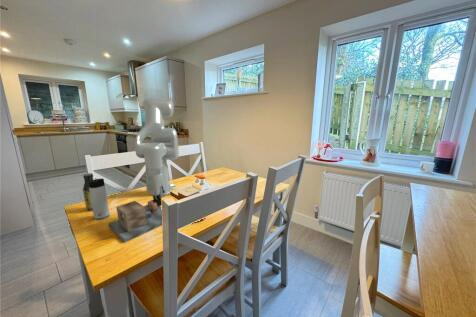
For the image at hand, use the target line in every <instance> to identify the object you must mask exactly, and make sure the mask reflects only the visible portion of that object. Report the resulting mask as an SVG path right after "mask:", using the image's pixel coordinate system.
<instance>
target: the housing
mask: <svg viewBox="0 0 476 317" xmlns="http://www.w3.org/2000/svg"><path fill="white" fill-rule="evenodd" d="M144 206H145V205H142V204H141V203H139V202H137V201H136V200H134V201H129V202H127V203H124V204H121V205H118V206H116V212H117V219H116V220H114V221H112V222H111V221H110V222H109V223H108V224H107V225H108V228H110V230H111V231H113V232H114V233H115V235H116V236H118V237H119V238H120V240H122V241H123V242H124V243H126V242H129V241H131V240H133V239H135V238H137V237H140V236H143V235H144V234H146V233H149V232H151V231H154V230H155V229H157V228H159V227H162V226H163V225H162V210H161V207H162V206H159V207H158V210H157V211H156V212H154V213H151V212H150V211H147V212H145V207H144ZM122 214H123V217H124V220H123V219H122V216H121V215H122Z"/></svg>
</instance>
